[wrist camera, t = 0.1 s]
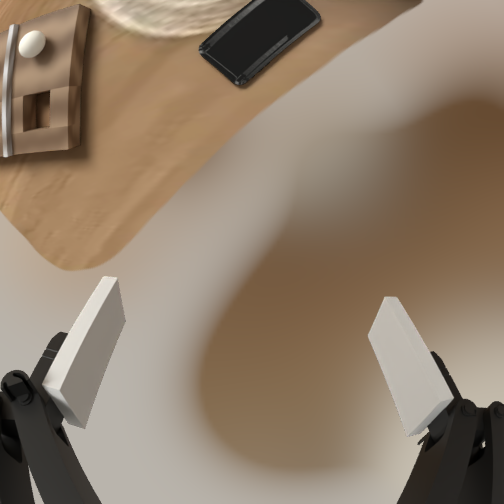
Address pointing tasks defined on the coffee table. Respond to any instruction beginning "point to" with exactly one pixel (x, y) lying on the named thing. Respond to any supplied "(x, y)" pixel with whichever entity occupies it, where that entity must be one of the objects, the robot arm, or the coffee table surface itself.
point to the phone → (257, 36)
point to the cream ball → (32, 44)
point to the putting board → (43, 82)
